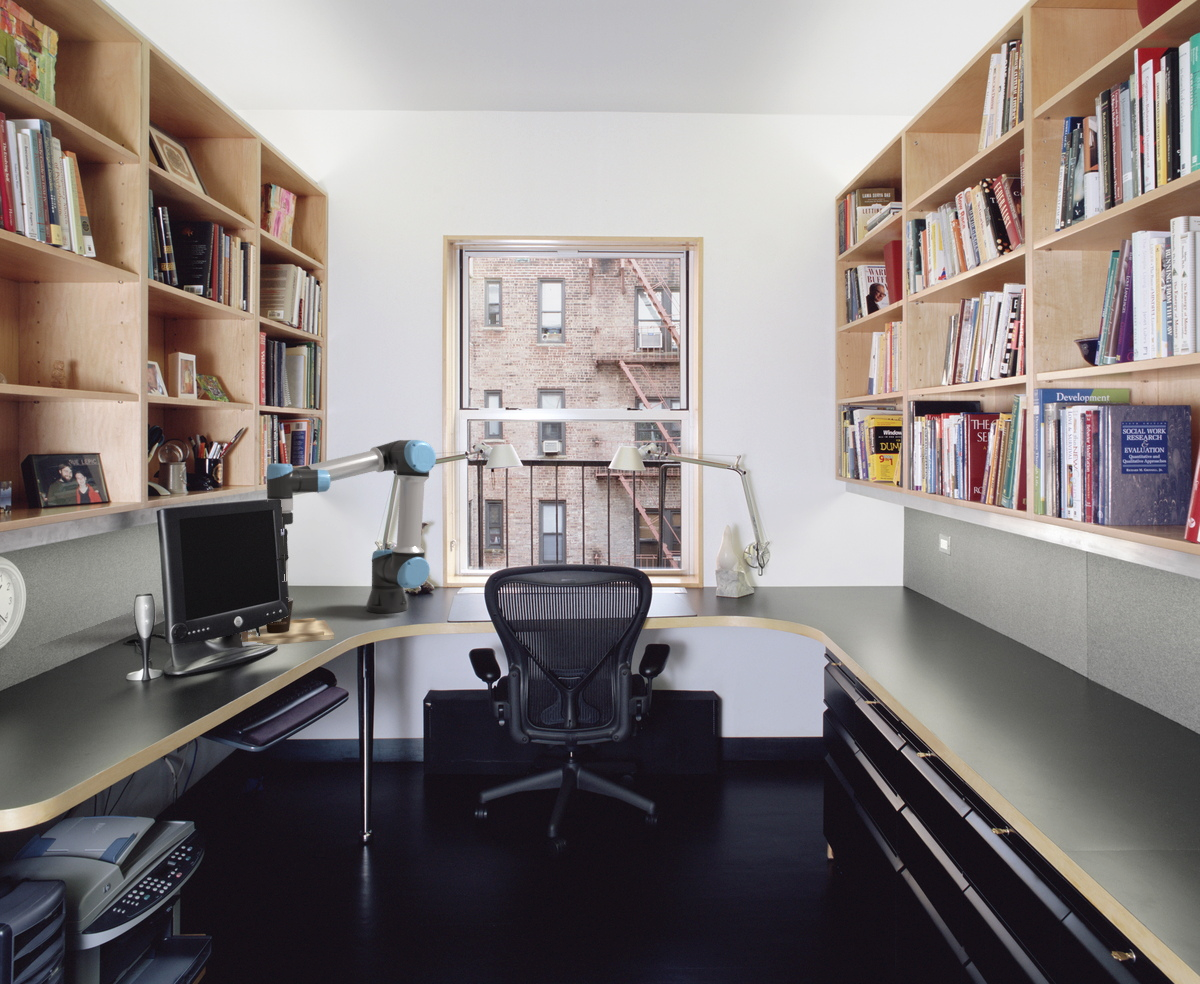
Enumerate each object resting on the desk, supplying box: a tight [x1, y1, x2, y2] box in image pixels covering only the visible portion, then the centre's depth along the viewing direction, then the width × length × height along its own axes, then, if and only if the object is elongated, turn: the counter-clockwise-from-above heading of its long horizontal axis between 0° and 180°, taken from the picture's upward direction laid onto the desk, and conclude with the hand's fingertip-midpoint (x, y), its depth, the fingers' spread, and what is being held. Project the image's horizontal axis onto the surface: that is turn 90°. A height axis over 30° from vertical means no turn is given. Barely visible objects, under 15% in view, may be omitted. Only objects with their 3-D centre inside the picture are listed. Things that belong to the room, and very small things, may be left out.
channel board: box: [241, 617, 335, 645], centre depth 225 cm, size 26×22×6 cm
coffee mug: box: [266, 597, 294, 633], centre depth 224 cm, size 12×9×10 cm
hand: (280, 577), depth 225 cm, fingers open, 13 cm apart
